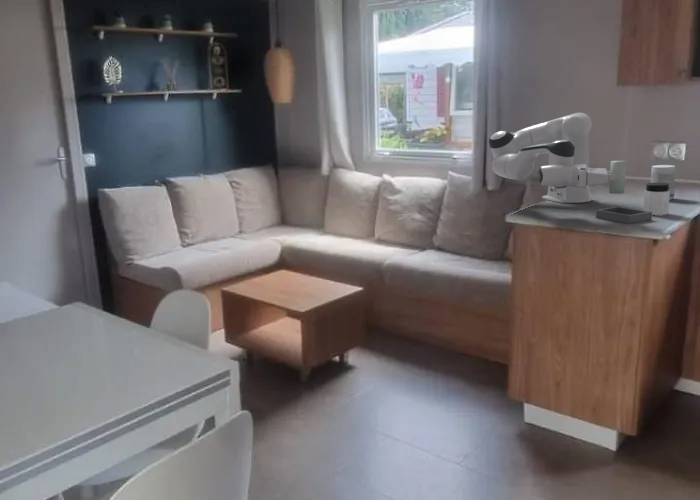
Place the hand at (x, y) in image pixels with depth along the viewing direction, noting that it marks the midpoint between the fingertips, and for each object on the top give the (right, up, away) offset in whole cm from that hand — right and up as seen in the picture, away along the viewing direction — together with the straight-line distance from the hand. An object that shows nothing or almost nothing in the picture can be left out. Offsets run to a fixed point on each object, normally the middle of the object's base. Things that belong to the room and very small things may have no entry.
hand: (620, 175), depth 248 cm
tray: (+3, -16, +4) cm, 17 cm away
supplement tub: (+36, -6, +42) cm, 55 cm away
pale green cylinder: (-1, -6, +2) cm, 7 cm away
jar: (+19, -14, +11) cm, 26 cm away
